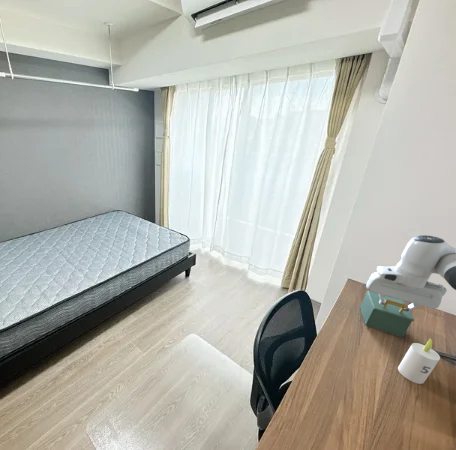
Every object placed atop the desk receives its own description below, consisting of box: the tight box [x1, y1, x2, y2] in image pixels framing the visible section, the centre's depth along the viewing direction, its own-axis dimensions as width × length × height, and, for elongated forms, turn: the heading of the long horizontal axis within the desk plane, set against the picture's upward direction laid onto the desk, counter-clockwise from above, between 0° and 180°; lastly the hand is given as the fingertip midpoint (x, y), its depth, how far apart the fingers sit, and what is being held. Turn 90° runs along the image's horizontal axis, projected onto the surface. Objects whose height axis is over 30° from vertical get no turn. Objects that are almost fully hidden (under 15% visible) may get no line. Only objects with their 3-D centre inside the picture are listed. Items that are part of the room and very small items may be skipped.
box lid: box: [366, 290, 415, 322], centre depth 98 cm, size 14×12×5 cm
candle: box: [397, 338, 441, 385], centre depth 77 cm, size 6×6×15 cm
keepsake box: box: [359, 292, 413, 338], centre depth 100 cm, size 13×12×9 cm
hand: (393, 307), depth 94 cm, fingers closed on box lid, 6 cm apart
